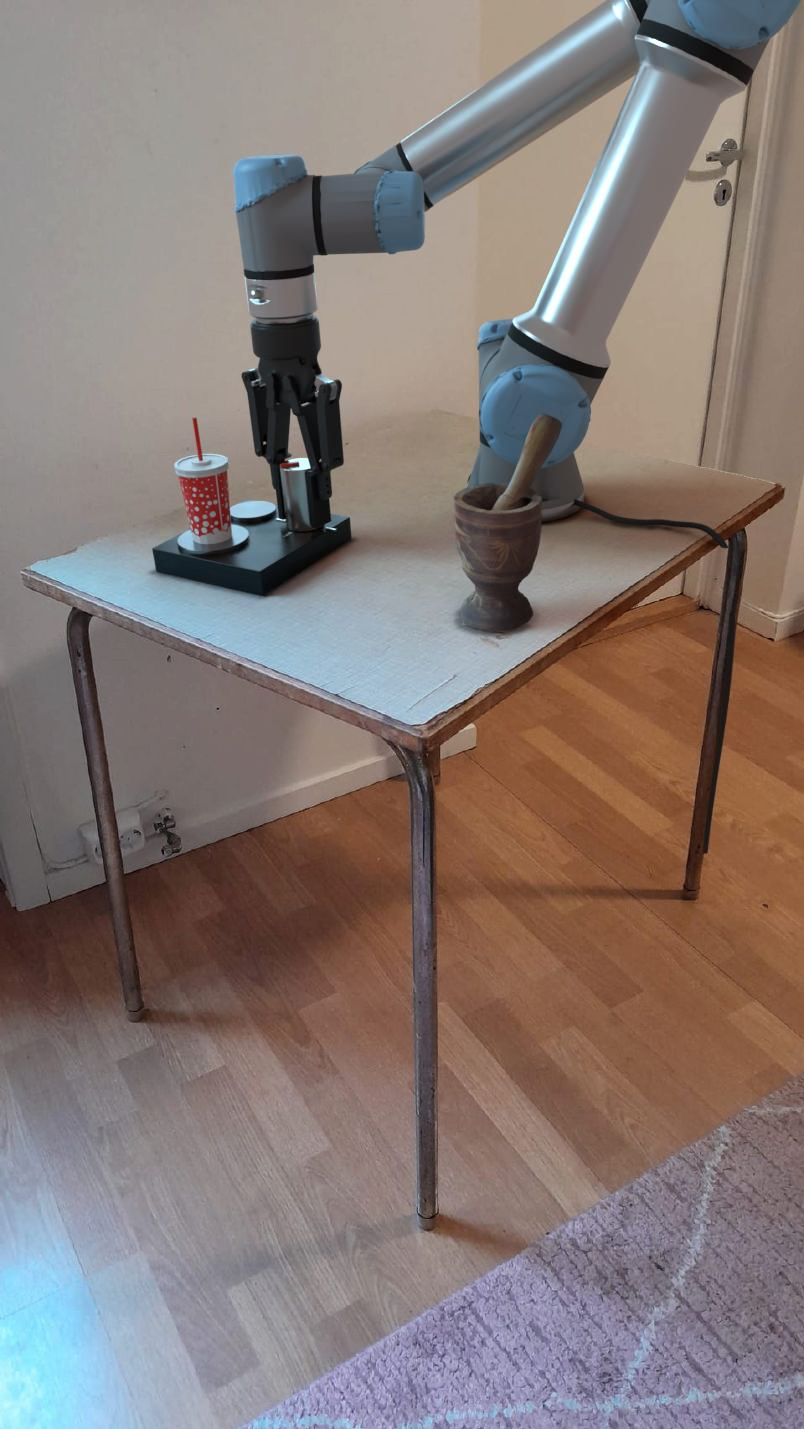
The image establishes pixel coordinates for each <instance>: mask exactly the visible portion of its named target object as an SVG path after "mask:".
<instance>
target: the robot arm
mask: <svg viewBox="0 0 804 1429" xmlns="http://www.w3.org/2000/svg"><path fill="white" fill-rule="evenodd" d="M801 2H802V0H604V1H603V2H602V3H599V5H597V6H596V7H594V8H593V9H591V10H590V11H588V12H587V13H586V14H584V15H583V16H581V17H579V18H578V19H577V20H576V21H573V23H571V24H570V25H568V26H567V27H565V28H564V29H562V30H561V31H560V32H558V33H557V34H555V35H553V36H552V37H551V38H549V39H548V40H546V41H545V42H543V43H542V44H541V45H539V46H538V47H535V49H533V50H531V51H530V52H528V53H527V54H526V55H524V56H523V57H522V58H520V59H519V60H517V61H515V62H514V63H513V64H511V65H509V66H508V67H507V68H506V69H504V70H503V71H501V72H500V73H498V74H497V75H495V76H494V77H492V78H491V79H489V80H488V81H486V82H485V83H483V84H481V86H479V87H477V88H476V89H475V90H473V91H472V92H470V93H469V94H468V95H466V96H464V98H461V100H459V101H457V102H456V103H454V104H453V105H451V106H449V108H447V109H446V110H444V111H443V112H441V113H440V114H438V115H437V116H435V117H434V118H433V119H430V120H429V121H428V122H426V123H425V124H424V125H422V126H421V127H419V128H418V129H416V130H415V131H413V132H411V134H409V135H408V136H406V137H405V138H404V139H402V140H400V142H398V143H397V144H396V145H394V146H392V147H390V148H388V149H387V150H386V151H385V152H383V153H382V154H380V155H379V156H377V157H376V158H374V159H373V160H370V161H367V162H366V163H364V164H363V165H361V166H360V167H359V168H358V169H356V170H355V171H354V172H353V173H346V174H345V173H343V174H332V175H315V174H309V171H308V169H307V168H306V167H307V166H306V162H305V159H304V158H303V157H302V155H299V154H268V155H267V154H266V155H256V156H255V155H254V156H249V157H248V156H247V157H243V158H241V159H239V160H238V161H237V162H236V163H235V165H234V167H233V172H232V173H233V186H234V200H235V207H234V213H235V215H236V216H235V217H236V223H237V230H238V237H239V245H240V252H241V258H242V259H241V260H242V267H243V275H244V283H245V291H246V300H247V308H248V309H247V310H248V314H249V315H250V316H251V317H252V318H254V319H252V320H251V322H250V324H249V328H250V329H249V330H250V337H251V346H252V351H253V355H254V356H256V357H257V358H259V359H258V364H257V367H255V368H252V369H249V370H245V371H243V372H241V381H242V383H243V385H244V388H245V391H246V393H247V394H246V395H247V403H248V410H249V418H250V425H251V433H252V434H251V435H252V441H253V448H254V454H255V456H257V457H258V458H261V457H262V458H263V459H265V460H266V462H267V464H268V465H269V469H270V478H271V485H272V488H273V489H274V490H275V496H276V504H277V505H278V514H279V519H282V520H284V519H286V518H285V509H284V500H283V491H282V483H281V474H280V464H281V463H283V462H285V461H286V460H288V459H289V458H291V457H292V456H293V454H292V453H290V452H289V444H290V443H289V441H290V429H291V428H290V426H291V413H292V415H293V416H295V417H296V419H297V423H298V427H299V431H300V434H301V438H302V441H303V445H304V449H305V453H306V458H308V460H309V464H310V468H311V470H310V471H307V474H306V479H307V489H308V498H309V508H310V518H311V527H312V528H318V527H320V526H322V525H325V524H327V523H329V522H331V514H332V513H331V504H330V503H331V502H330V499H331V498H332V496H333V487H332V476H331V475H332V474H331V472H332V470H335V469H337V468H340V467H342V466H343V465H344V463H345V456H344V445H343V432H342V418H341V406H340V400H341V399H340V398H341V395H342V389H343V384H342V383H343V382H341V380H340V379H338V378H335V379H329V378H328V377H327V376H325V375H323V372H322V369H321V367H320V364H319V361H318V357H319V356H318V355H319V353H320V351H321V348H322V343H321V342H322V341H321V329H320V319H319V318H318V317H317V315H315V314H314V313H316V312H317V311H318V310H319V305H318V296H317V295H318V294H317V286H316V277H315V264H314V256H320V257H321V256H329V255H356V254H359V255H360V254H361V255H362V254H388V255H395V254H397V253H402V252H410V251H417V250H420V249H421V248H422V247H423V245H424V243H425V241H426V240H425V238H426V216H425V214H426V212H428V211H429V210H430V209H431V208H434V207H435V206H436V205H438V204H439V203H441V202H443V201H444V200H445V199H447V198H449V197H450V196H451V195H453V194H455V193H456V192H458V191H459V190H461V189H462V188H464V187H466V186H467V185H469V184H470V183H472V182H473V181H475V180H476V179H478V178H479V177H481V176H483V175H484V174H486V173H487V172H489V171H490V170H492V169H493V168H495V167H496V166H497V165H499V164H501V163H503V162H504V161H506V160H507V159H509V158H511V157H512V156H513V155H515V154H516V153H518V152H519V151H521V150H523V149H524V148H526V147H527V146H529V145H530V144H532V143H533V142H535V141H536V140H539V139H540V138H541V137H543V136H544V135H546V134H547V133H549V132H550V131H552V130H554V129H555V128H557V127H558V126H560V125H561V124H563V123H564V122H566V121H567V120H569V119H571V118H572V117H574V116H575V115H576V114H578V113H579V112H581V111H583V110H584V109H586V108H587V107H589V106H590V105H593V103H595V102H596V101H598V100H599V99H601V98H603V97H604V96H606V95H607V94H609V93H610V92H612V91H614V90H615V89H617V88H619V87H620V86H621V85H622V84H625V83H626V82H627V81H630V79H632V78H634V79H633V80H632V83H631V85H630V88H629V90H628V92H627V94H626V96H625V99H624V101H623V103H622V106H621V108H620V110H619V113H618V115H617V117H616V119H615V121H614V124H613V126H612V128H611V131H610V133H609V135H608V138H607V140H606V142H605V144H604V146H603V148H602V151H601V153H600V155H599V158H598V160H597V163H596V164H595V167H594V170H593V172H592V174H591V176H590V178H589V180H588V183H587V185H586V187H585V190H584V192H583V194H582V197H581V199H580V201H579V203H578V206H577V208H576V211H575V213H574V215H573V217H572V219H571V221H570V224H569V227H568V228H567V231H566V233H565V235H564V237H563V240H562V242H561V245H560V247H559V249H558V252H557V254H556V255H555V258H554V260H553V262H552V265H551V267H550V269H549V271H548V274H547V276H546V279H545V281H544V283H543V285H542V288H541V290H540V292H539V295H538V297H537V299H536V302H535V303H534V306H533V308H532V309H530V310H529V311H526V312H524V313H521V314H519V315H517V316H515V317H513V318H508V319H507V318H505V319H496V320H490V321H487V322H484V323H483V324H482V325H481V326H480V327H479V330H478V342H477V343H476V351H478V422H479V423H478V424H479V426H478V427H479V429H478V430H479V447H478V450H477V454H476V457H475V460H474V463H473V467H472V470H471V472H470V474H469V476H468V478H467V482H466V484H467V487H470V486H474V485H479V484H486V483H498V484H499V483H508V484H510V482H511V479H512V477H513V475H514V472H515V469H516V467H517V464H518V462H519V459H520V457H521V453H522V450H523V447H524V445H525V441H526V438H527V435H528V433H529V430H530V428H531V426H532V424H533V422H534V420H535V419H536V418H537V417H538V416H539V415H540V414H543V413H544V414H548V415H550V416H553V417H555V418H557V419H558V420H559V421H560V422H561V423H562V428H561V431H560V435H559V438H558V440H557V442H556V444H555V446H554V448H553V450H552V451H551V453H550V455H549V456H548V458H547V459H546V461H545V462H544V464H543V465H542V467H541V469H540V470H539V472H538V475H537V476H536V478H535V480H534V482H533V483H532V485H531V487H530V488H532V489H534V490H536V491H537V492H538V493H539V494H540V497H541V498H542V504H541V513H542V520H541V523H545V522H550V521H555V520H560V519H563V518H566V517H568V516H571V515H573V514H575V513H577V512H578V511H579V510H581V509H583V510H587V511H588V512H592V513H593V514H596V515H598V516H600V517H603V518H604V519H606V520H609V521H612V522H615V523H619V524H625V525H634V526H665V527H672V528H673V527H674V528H682V529H683V528H684V529H685V528H686V529H695V530H699V531H702V532H703V533H705V534H707V535H708V536H710V537H711V538H712V539H713V540H714V542H716V544H718V546H719V547H720V548H722V549H729V545H728V544H727V542H726V541H725V539H724V538H723V537H722V536H721V535H720V534H719V533H718V531H716V530H714V529H713V528H711V526H708V525H706V524H703V523H699V522H694V521H693V522H692V521H681V520H672V519H671V520H670V519H662V518H646V519H643V518H630V517H624V516H619V515H616V514H612V513H610V512H608V511H605V510H603V509H601V508H599V507H597V506H594V505H592V504H590V503H587V502H585V501H584V500H585V487H584V483H583V479H582V476H581V473H580V469H579V465H578V462H577V459H576V456H575V452H576V450H578V448H579V447H580V446H581V444H582V443H583V441H584V439H585V437H586V436H587V433H588V430H589V426H590V422H591V415H592V407H591V405H592V403H593V401H594V399H595V397H596V395H597V393H598V390H599V389H600V387H601V384H602V382H603V380H604V379H605V376H606V374H607V373H608V370H609V368H610V366H611V364H612V361H611V358H610V354H609V351H608V347H607V340H608V338H609V336H610V334H611V332H612V330H613V328H614V326H615V324H616V322H617V319H618V317H619V315H620V313H621V311H622V309H623V306H624V305H625V303H626V301H627V299H628V296H629V295H630V293H631V290H632V289H633V286H634V284H635V282H636V280H637V278H638V276H639V274H640V272H641V269H642V268H643V266H644V263H645V261H646V259H647V257H648V256H649V253H650V252H651V249H652V247H653V244H654V242H655V241H656V238H657V236H658V234H659V232H660V230H661V228H662V226H663V224H664V222H665V220H666V218H667V216H668V213H669V212H670V209H671V208H672V205H673V203H674V201H675V199H676V197H677V194H678V193H679V191H680V190H681V187H682V184H683V183H684V181H685V179H686V176H687V174H688V173H689V170H690V168H691V166H692V164H693V162H694V160H695V158H696V156H697V153H698V151H699V150H700V147H701V145H702V143H703V141H704V139H705V137H706V135H707V133H708V132H709V131H708V130H709V129H710V127H711V124H712V123H713V120H714V119H715V116H716V114H717V112H718V110H719V108H720V106H721V104H722V103H724V102H726V100H728V99H730V98H732V97H734V96H736V95H738V94H742V92H745V90H746V89H747V87H748V85H749V83H750V81H751V78H752V77H753V74H754V73H755V70H756V69H757V67H758V65H759V63H760V61H761V59H762V56H763V54H764V53H765V50H766V49H767V46H768V44H769V42H770V40H771V39H772V38H773V37H775V36H776V35H777V34H779V32H780V31H781V30H782V29H783V27H785V25H787V24H788V22H789V20H790V19H791V18H792V17H793V15H794V14H795V12H796V11H797V9H798V7H799V5H800V4H801ZM467 487H466V488H467ZM727 636H728V637H727V640H728V641H727V656H726V666H725V679H724V687H723V697H722V705H721V712H720V719H719V727H718V733H717V739H716V746H715V753H714V759H713V765H712V773H711V779H710V780H711V781H710V787H709V794H708V802H707V807H706V815H705V824H704V832H703V833H704V834H703V841H702V842H703V843H702V851H701V852H702V854H703V855H705V854H706V855H707V854H708V853H709V845H710V836H711V827H712V822H713V821H712V820H713V813H714V805H715V800H716V790H717V784H718V778H719V773H720V772H719V771H720V764H721V758H722V751H723V746H724V738H725V731H726V725H727V717H728V712H729V704H730V695H731V686H732V679H733V668H734V657H735V640H736V639H735V638H736V605H734V606H733V607H732V609H731V610H730V611H729V613H728V635H727Z"/></svg>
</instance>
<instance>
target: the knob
mask: <svg viewBox="0 0 804 1429" xmlns="http://www.w3.org/2000/svg"><path fill="white" fill-rule="evenodd" d="M310 470H311V468H310V464H309V460H308V457H297V458H292V459H286V460H285V462H283V463H281V464H280V474H281V483H282V491H283V500H284V509H285V518H286V526H287V528H288V529H290V530H292V531H298V532H305V531H312V530H316V529H319V528H321V527H322V526H323V525H322V526H320V527H318V528H312V527H311V518H310V508H309V498H308V489H307V479H306V474H307V471H310Z"/></svg>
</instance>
